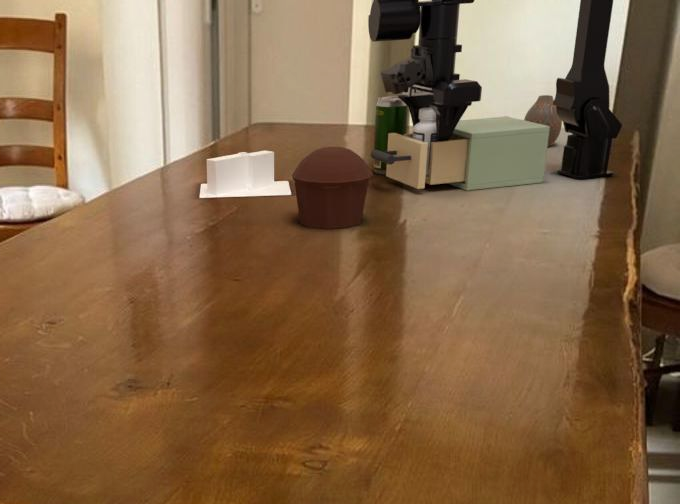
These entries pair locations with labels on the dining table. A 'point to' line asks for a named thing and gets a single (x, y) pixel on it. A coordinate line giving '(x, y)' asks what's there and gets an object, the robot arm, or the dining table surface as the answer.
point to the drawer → (424, 160)
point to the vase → (545, 116)
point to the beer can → (388, 125)
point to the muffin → (331, 188)
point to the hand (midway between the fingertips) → (430, 145)
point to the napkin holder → (243, 176)
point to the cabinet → (503, 152)
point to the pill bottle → (426, 130)
